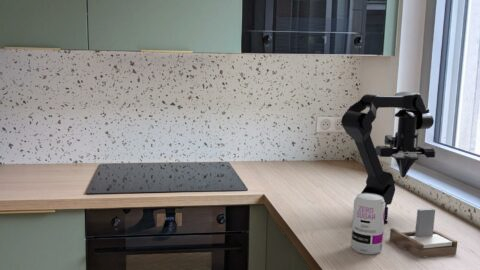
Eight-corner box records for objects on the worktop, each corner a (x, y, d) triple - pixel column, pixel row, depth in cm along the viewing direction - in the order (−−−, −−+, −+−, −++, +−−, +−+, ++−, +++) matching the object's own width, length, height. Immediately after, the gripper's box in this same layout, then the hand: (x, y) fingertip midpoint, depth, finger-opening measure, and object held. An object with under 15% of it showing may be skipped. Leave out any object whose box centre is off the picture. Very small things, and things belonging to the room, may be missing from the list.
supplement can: (376, 244, 149) (380, 192, 147) (385, 255, 141) (389, 201, 139) (347, 243, 149) (351, 192, 147) (355, 255, 141) (359, 200, 139)
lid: (408, 240, 147) (410, 209, 146) (435, 237, 150) (438, 207, 149) (423, 248, 141) (426, 216, 140) (451, 245, 144) (455, 214, 143)
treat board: (389, 240, 153) (390, 228, 153) (424, 236, 157) (425, 225, 157) (419, 257, 141) (420, 245, 140) (456, 253, 145) (457, 241, 144)
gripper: (422, 127, 183) (418, 171, 185) (370, 126, 181) (367, 171, 183) (438, 132, 172) (433, 179, 174) (382, 131, 170) (379, 179, 172)
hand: (402, 177), depth 176 cm, fingers closed
